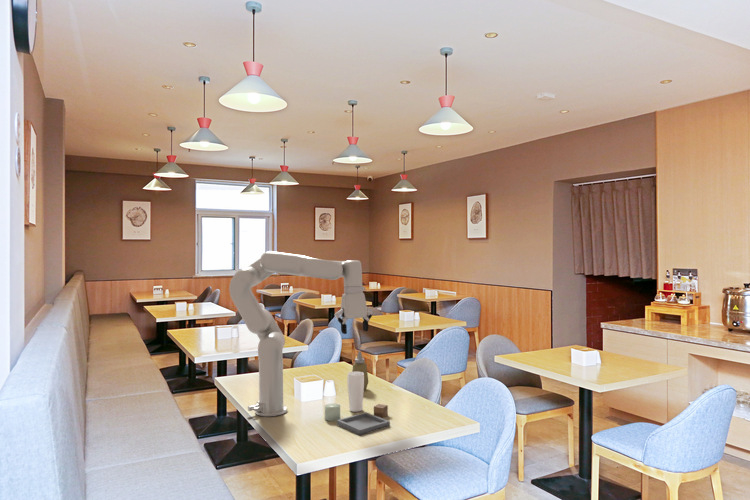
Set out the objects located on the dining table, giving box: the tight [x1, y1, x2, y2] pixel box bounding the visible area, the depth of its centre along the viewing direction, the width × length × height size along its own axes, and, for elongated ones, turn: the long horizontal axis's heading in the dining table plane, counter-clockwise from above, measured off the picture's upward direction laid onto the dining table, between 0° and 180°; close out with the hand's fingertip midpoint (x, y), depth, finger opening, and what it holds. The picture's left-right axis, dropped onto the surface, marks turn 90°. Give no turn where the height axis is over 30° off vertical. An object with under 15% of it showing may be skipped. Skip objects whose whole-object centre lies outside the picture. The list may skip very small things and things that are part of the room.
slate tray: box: [336, 412, 391, 436], centre depth 186 cm, size 14×14×2 cm
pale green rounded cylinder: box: [324, 403, 341, 422], centre depth 194 cm, size 6×6×5 cm
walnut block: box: [373, 403, 389, 419], centre depth 197 cm, size 4×4×4 cm
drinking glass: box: [346, 371, 365, 413], centre depth 204 cm, size 7×7×15 cm
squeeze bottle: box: [351, 350, 369, 391], centre depth 235 cm, size 8×8×18 cm
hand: (355, 332), depth 205 cm, fingers open, 9 cm apart
